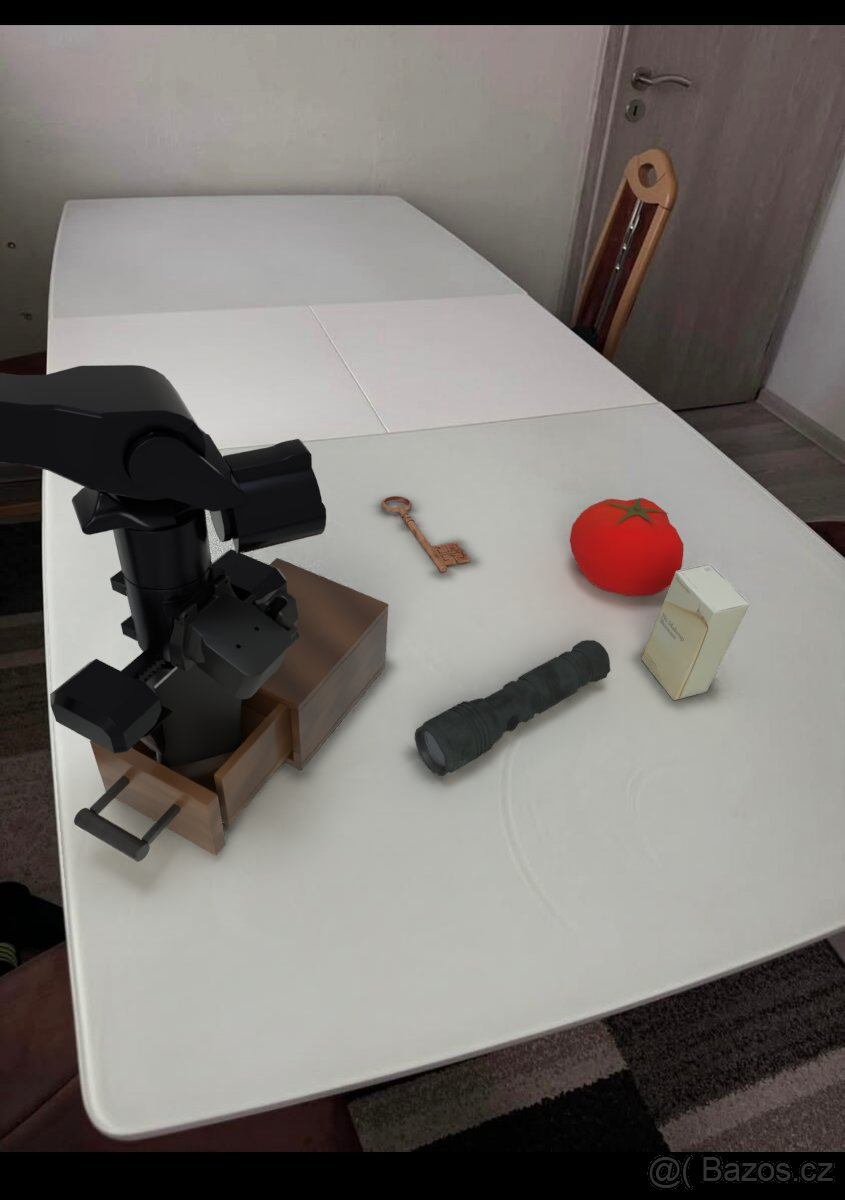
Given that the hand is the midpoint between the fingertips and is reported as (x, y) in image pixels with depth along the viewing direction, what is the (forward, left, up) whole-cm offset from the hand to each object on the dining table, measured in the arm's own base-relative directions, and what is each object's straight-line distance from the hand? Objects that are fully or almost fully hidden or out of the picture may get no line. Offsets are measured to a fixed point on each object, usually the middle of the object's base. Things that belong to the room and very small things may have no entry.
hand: (193, 717), depth 64 cm
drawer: (-1, 0, -8) cm, 8 cm away
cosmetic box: (+35, -32, -9) cm, 48 cm away
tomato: (+47, -22, -9) cm, 52 cm away
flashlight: (+20, -20, -9) cm, 30 cm away
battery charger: (0, 0, -4) cm, 4 cm away
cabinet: (+13, 0, -9) cm, 15 cm away
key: (+42, +1, -9) cm, 42 cm away
